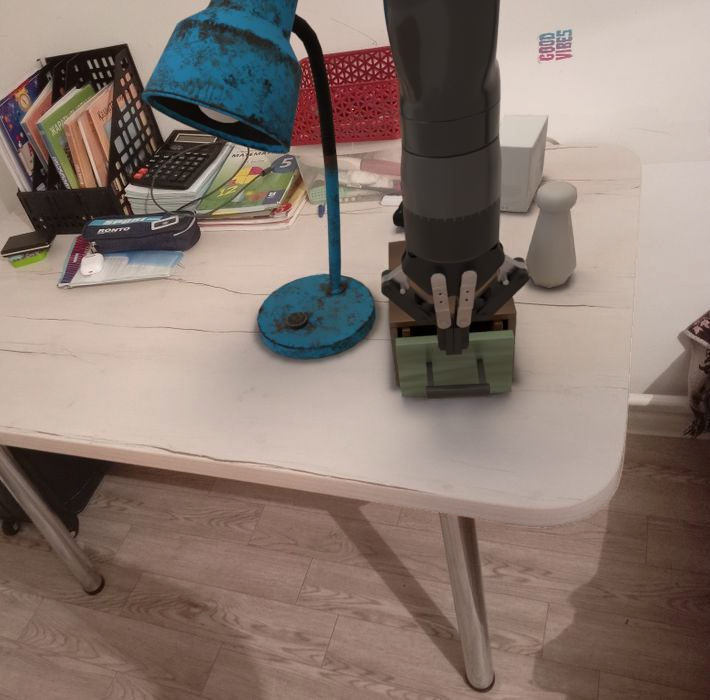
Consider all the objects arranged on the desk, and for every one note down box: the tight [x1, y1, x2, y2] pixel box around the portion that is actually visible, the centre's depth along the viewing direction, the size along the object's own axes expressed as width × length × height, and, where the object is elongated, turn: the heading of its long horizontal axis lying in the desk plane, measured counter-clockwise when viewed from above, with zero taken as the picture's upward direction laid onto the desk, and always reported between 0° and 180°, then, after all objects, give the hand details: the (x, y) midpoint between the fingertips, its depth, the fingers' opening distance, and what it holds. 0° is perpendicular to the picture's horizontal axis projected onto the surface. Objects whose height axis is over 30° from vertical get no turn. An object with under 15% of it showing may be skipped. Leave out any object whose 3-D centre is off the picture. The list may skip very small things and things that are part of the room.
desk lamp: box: [141, 0, 377, 360], centre depth 69 cm, size 16×22×45 cm
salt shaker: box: [525, 180, 578, 289], centre depth 75 cm, size 6×6×13 cm
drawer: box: [396, 320, 514, 401], centre depth 69 cm, size 19×11×8 cm, turn 169°
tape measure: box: [392, 201, 405, 229], centre depth 94 cm, size 7×7×4 cm
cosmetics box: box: [499, 113, 549, 213], centre depth 92 cm, size 10×6×10 cm, turn 148°
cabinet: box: [387, 239, 518, 386], centre depth 73 cm, size 16×13×10 cm
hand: (453, 349), depth 60 cm, fingers closed
